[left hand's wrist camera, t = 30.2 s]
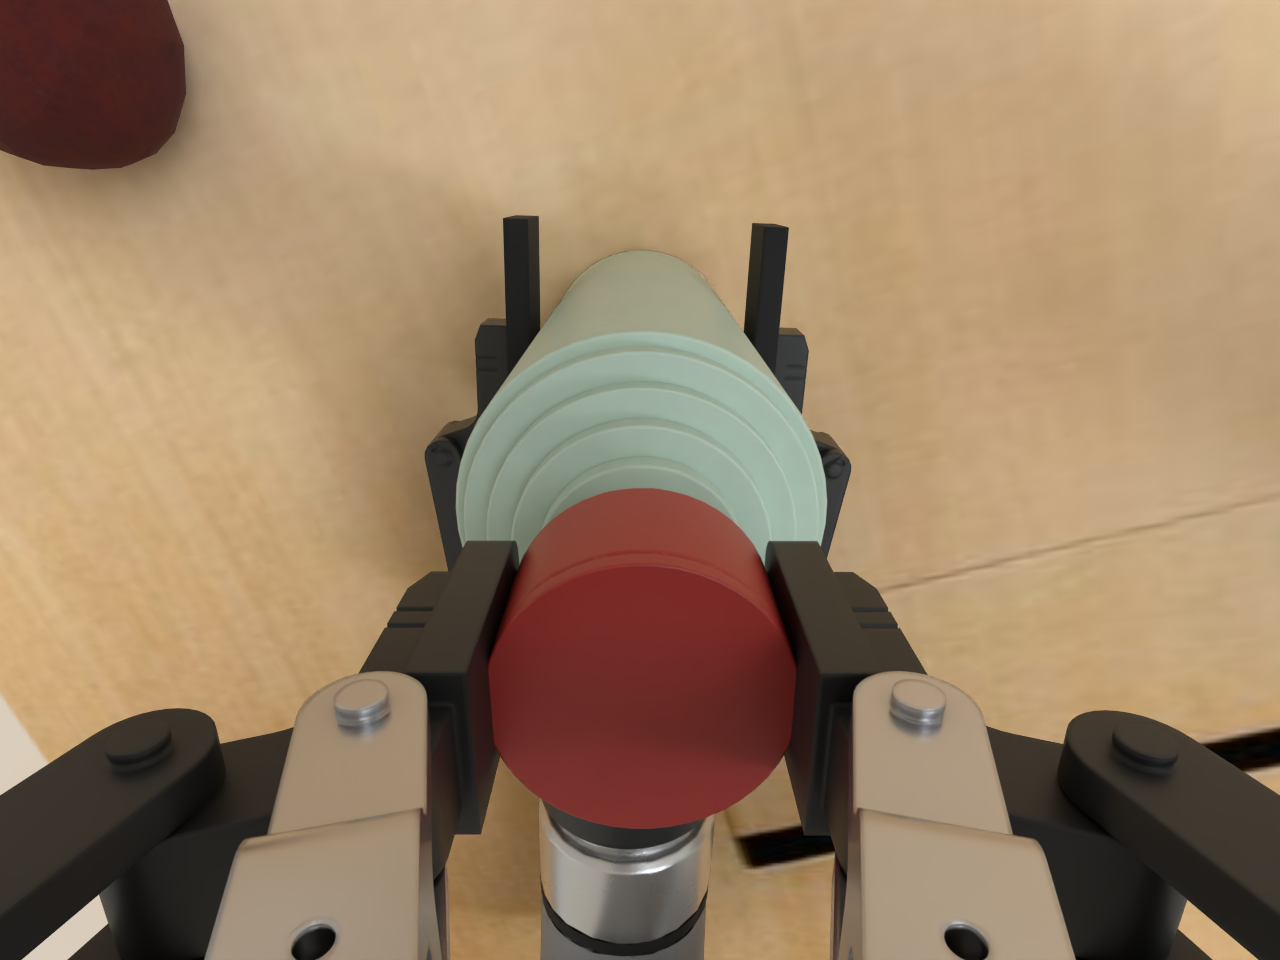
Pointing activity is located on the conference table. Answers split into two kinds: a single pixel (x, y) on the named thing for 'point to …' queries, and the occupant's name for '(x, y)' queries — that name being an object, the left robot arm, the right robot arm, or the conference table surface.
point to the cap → (641, 663)
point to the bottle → (641, 414)
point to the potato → (89, 80)
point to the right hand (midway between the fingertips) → (645, 222)
